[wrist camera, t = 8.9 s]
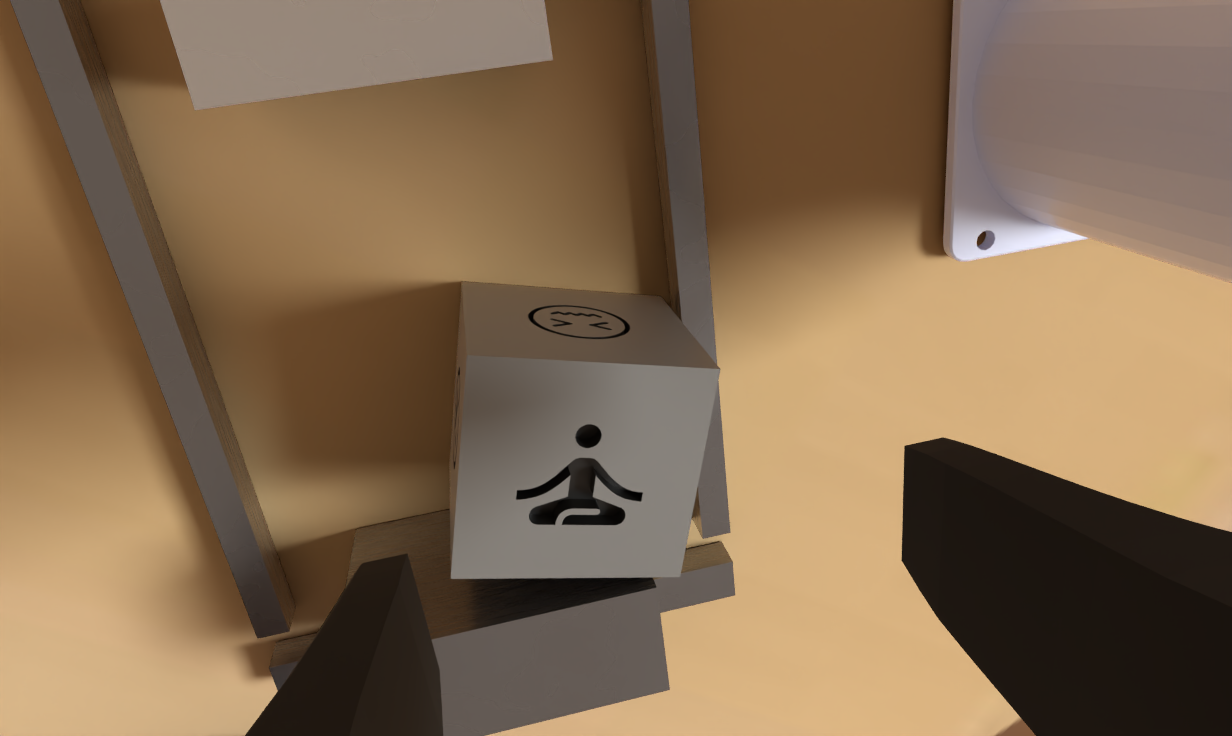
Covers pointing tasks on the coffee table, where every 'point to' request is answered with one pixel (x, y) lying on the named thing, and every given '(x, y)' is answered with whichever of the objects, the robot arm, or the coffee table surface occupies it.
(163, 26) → the coffee table surface
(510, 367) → the grey marked cube
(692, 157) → the grey rail frame
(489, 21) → the l-shaped block holder
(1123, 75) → the robot arm
